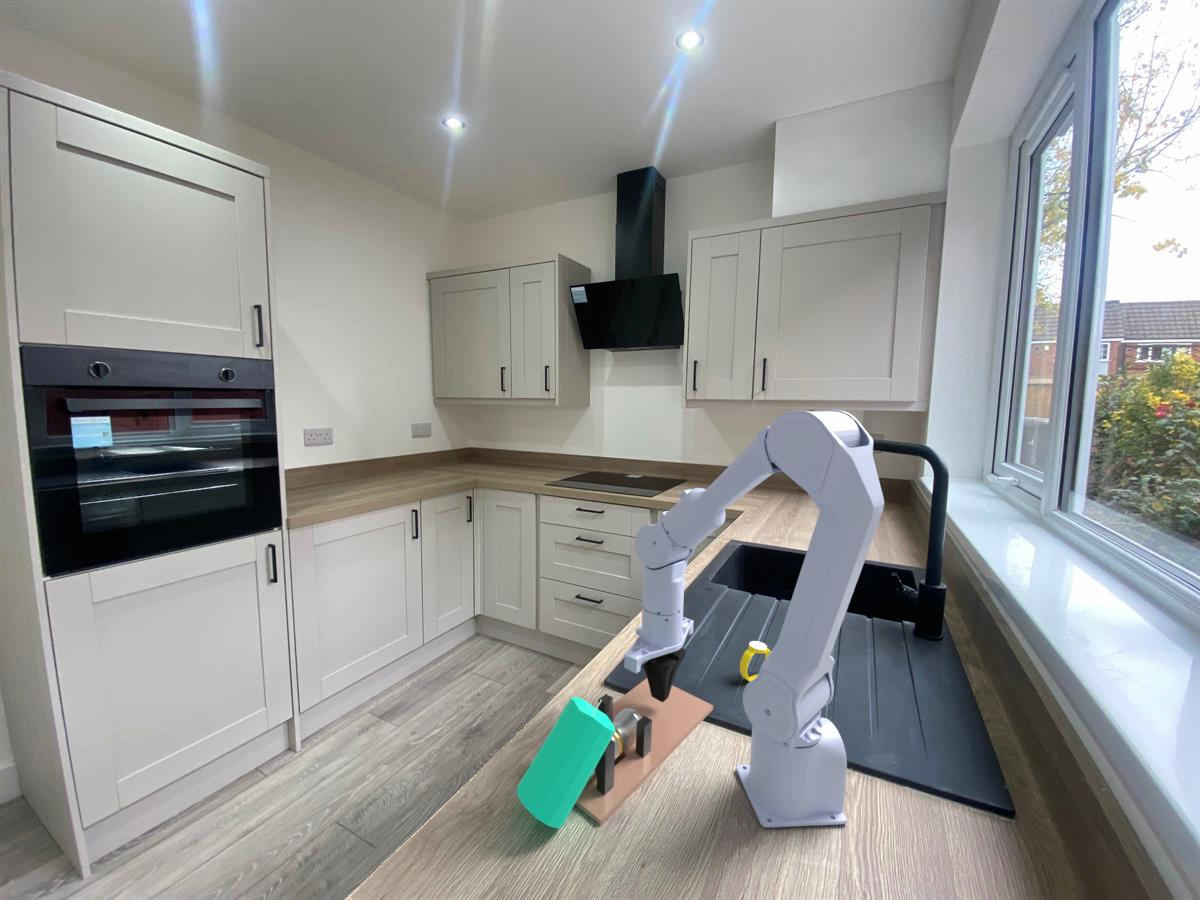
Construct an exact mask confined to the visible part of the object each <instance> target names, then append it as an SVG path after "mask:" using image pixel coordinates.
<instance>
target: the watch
mask: <svg viewBox="0 0 1200 900" xmlns="http://www.w3.org/2000/svg"><path fill="white" fill-rule="evenodd" d="M771 651H772V650H770V649H769V648H768V645H767V644H766V643H764V642H762V641H758V640H751V641H749V643H748V648H747V649H746V650H745V651H744V652H743V654H742V656H741V658H740V663H739V671H740V675H741V676H742V678H743V679H745V680H746V681H748V683H749V682H751V681H752V680H754V679H755V678H756V677H757V676H758V674H759V672H758V673H756V674H753V675H749V674H748V667H749V663H750V661H751V660H752V658H753V656H754V655H756V654H765V659H766V658H767V657H768V655H769V654H770V652H771ZM765 659H764V660H765Z"/></svg>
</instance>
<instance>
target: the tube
mask: <svg viewBox="0 0 1200 900" xmlns="http://www.w3.org/2000/svg"><path fill="white" fill-rule="evenodd" d="M640 719H641V716H640V715H639V713H638V712H637V711H635V710H633V709H624V710H622V711H621V712H619V713H618V714H617V715H616V716H615V717H614V718H613V719H611V720H610V721H611V723H612V724H613V726H614V729H615V734H614V735H613V737H612V739H611V740H613V741H614V742H615V760H614V761H616V760H617V759H618V758H619V757H620V756H622V755H621V754H622V753H623V751H624V750H625V749H626V748H627V747H628V746H629V745H630V744H631V743H632V742H633V741H634V740H635V739H636V729H637V721H639V720H640ZM596 778H597V766H596V767H595V769H594V771H593V773H592V774H591V776H590V778H589V780H588V781H593V780H595V779H596Z"/></svg>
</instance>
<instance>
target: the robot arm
mask: <svg viewBox="0 0 1200 900" xmlns="http://www.w3.org/2000/svg"><path fill="white" fill-rule="evenodd" d="M859 421H860V420H858V419H857V418H856V417H855V416H854V415H852V414H851V413H849V412H847V411H844V410H840V409H828V410H822V411H821V410H820V411H818V410H817V411H816V410H815V411H814V410H813V411H809V410H805V409H804V410H803V409H793V410H790V411H789V410H788V411H786V412H784V413H782V414H780V415H779V416H778V417H776V418H775V420H773V422H772V423H771V424H770V426H766V427H765V428H763V429H761V430H760V431H759V432H757V434H756V435H755V437H754V439H753V440H752V441H751V443H750V444H749V445H748V446H746V448H745V449H744V450H743V451H742V452H741V453H740V454H739V455H738V456H737V457H736V458H735V459H734V460H733V461H732V463H731V464H730V465H728V466H727V468H725V470H723V472H721V474H720V475H718V477H717V478H715V479H714V481H713V482H712V483H711V484H710V485H709V486H707V488H702V487H695V488H693V489H691V488H690V489H686V490H683V491H682V492H681V493H680V494H678V497H679V498H680V500H679V501H678V502H676V503H675V505H673V506H672V508H670V509H669V510H667V511H663V512H661V513H660V514H659V520H657V523H654V524H653V523H649V524H643V525H642V526H641V527H640V529H639V530H638V532H637V533H636V536H635V540H634V546H635V552H636V555H637V557H638V559H639V560H640V562H641V563H642V565H643V566H642V567H643V568H642V597H641V598H642V599H641V601H642V602H641V603H642V604H641V605H642V607H641V609H642V610H641V625H640V626H638V627H636V628H635V634H636V635H637V636H638V637H637V638H636V640H635V642H634V643H633V645H632V646H631V648H630V649H629V650H628V651H627V652H626V653H625V654H624V661H623V662H624V664H623V665H624V667H623V668H624V669H626V670H628V671H629V672H632V673H634V674H638V673H639V672H641V666H642V668H643V670H644V672H645V675H646V678H647V679H648V683H649V687H650V692H651V696H652V697H653V698H655V699H657V700H659V701H661V702H664V701H665V700H666V699H667V698H668V697H669V694H670V690H671V687H672V685H673V683H674V680H675V677H676V673H677V671H678V669H679V667H680V666H681V663H682V661H683V660H684V659H685V657H686V649H685V648H683V646H684V644H685V641H686V639H687V636H688V635H693V633H694V626H695V625H694V622H695V621H694V620H693V619H690V618H687V617H685V616H684V600H685V599H684V597H685V596H684V595H685V576H686V574H685V573H686V570H688V560H689V559H690V558H691V557H692V556H693V554H694V553H695V549H696V547H697V546H698V545H699V544H700V543H701V542H703V541H704V540H705V539H707V538H708V537H709V536H710V535H711V534H712V533H714V532H715V531H716V530H718V528H720V527H721V526H722V525H724V524H725V521H726V517H727V516H726V510H727V508H729V507H730V506H732V505H733V504H734V503H735V502H737V501H738V500H739V499H741V498H742V497H743V496H745V495H746V494H748V492H750V491H752V490H753V489H754V488H756V487H757V486H758V485H760V484H761V483H762V482H764V481H765V480H767V479H768V478H769V477H770V476H772V475H773V474H776V473H782V472H783V473H784V474H785V475H786V476H787V477H789V478H790V479H791V480H792V481H793V482H795V483H796V484H797V485H798V486H799V487H801V489H802V490H803V491H805V492H807V494H808V496H809V498H811V500H812V502H813V503H814V504H815V506H816V507H817V509H818V512H819V513H818V517H817V519H816V523H815V525H814V529H813V531H812V535H811V538H810V541H809V545H808V547H807V550H806V553H805V557H804V558H803V559H804V560H803V563H802V565H801V568H800V571H799V575H798V578H797V580H796V581H797V582H796V585H795V588H794V591H793V593H792V597H791V599H790V603H789V606H788V608H787V612H786V614H785V618H784V620H783V621H784V622H783V625H782V626H781V630H780V633H779V636H778V639H777V641H776V644H775V646H774V647H773V648H772V650H770V651H771V652H770V654H769V655H768V657H767V658H766V659H764V661H763V662H762V664H761V666H760V669H759V671H758V673H759V674H758V673H757V674H758V676H757V677H756V678H755V679H754V680H752V681H751V682H749V681H748V683H747V684H746V685H745V687H744V689H743V691H742V705H743V708H744V711H745V714H746V716H747V719H748V720H749V722H750V723H751V742H750V743H751V744H750V756H749V757H750V759H749V764H738V765H737V766H735V767H736V768H735V769H736V773H737V775H738V778H739V780H740V782H741V783H742V786H743V788H744V791H745V793H746V796H747V797H748V800H749V802H750V804H751V806H752V809H753V810H754V813H755V815H756V817H757V820H758V822H759V823H760V826H762V827H763V828H787V827H788V828H790V827H806V826H807V827H809V826H810V827H811V826H827V825H828V826H833V825H836V826H837V825H846V824H847V823H848V822H847V821H848V818H847V817H846V815H845V813H844V802H845V801H844V800H845V792H846V782H847V780H846V779H847V769H848V766H847V765H848V762H847V761H848V759H847V752H846V748H845V744H844V741H843V739H842V737H841V734H840V733H839V730H838V729H837V727H836V725H835V724H834V723H833V722H832V721H831V720H830V719H828V718H826V717H821V715H822V709H823V708H825V707H827V705H829V703H831V701H832V699H833V697H834V692H835V691H834V690H835V687H834V682H833V669H834V666H835V663H836V661H835V659H834V657H833V656H832V655H831V654H832V653H833V650H834V649H833V648H834V646H835V643H836V641H837V637H838V635H839V633H840V629H841V626H842V624H843V621H844V619H845V616H846V613H847V611H848V608H849V605H850V602H851V599H852V596H853V594H854V592H855V588H856V585H857V583H858V581H859V578H860V575H861V572H862V569H863V567H864V564H865V561H866V559H867V556H868V553H869V550H870V547H871V545H872V542H873V539H874V536H875V534H876V531H877V529H878V525H879V523H880V520H881V519H882V514H883V511H884V506H885V498H884V494H883V490H882V487H881V483H880V478H879V475H878V472H877V467H876V463H875V459H874V455H873V453H874V439H873V437H872V436H871V435H870V433H868V431H867V430H866V429H865V428H864V425H862V424H861V423H860V422H859Z"/></svg>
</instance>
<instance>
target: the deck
mask: <svg viewBox="0 0 1200 900" xmlns="http://www.w3.org/2000/svg"><path fill="white" fill-rule="evenodd" d="M624 709H633V710H635V711H637V712H638V713H639V715H640V716H641V718H642V717H643V716H646V717H647V718H649V719H651V720H652V735H651V751H650V752H649V753H648V754H647V755H646V756H645V757H644V758H643V757H641V756H639V755H638V754H636V739H635V740H634V741H633V742H632V743H631V744H630V745H629V746H628V747H627V748H626V749H625V750H624V751H623V753H622V754H621V755H620V756H622V757H623V758H622V759H621V760H620V761H619V762H618V763H617V764H615V765H614V787H613V788H612V789H611V790H610V791H609V792H608V793H607V794H606V795H605V796H604V795H603V794H602V793H600V792H599V791H598V790H597V778H596V779H595V780H593V781H588V782H587V783H586V785H585V787H584V789H583V790H582V792H581V794H580V796H579V798H578V799H577V801H576V803H575V805H574V806H577V808H579V809H580V810H581V811H582V812H583V813H585V814H586V815H587V816H588V817H589V818H591V819H592V820H593V821H595V822H596V823H597V824H598V825H599V826H602V825H603V824H604V823H605V822H606V821H607V820H608V819H609V818H610V817H611V816H612V815H613V814H614V813H615V812H616V811H617V810H618V808H620V806H621V805H622V804H624V802H625V801H626V800H627V799H628V798H629V797H630V796H631V795H632V794H633V793H634V792H635V791H636V790H637V789H638V788H639V786H641V785H642V784H643V783H644V782H645V780H646V779H648V778H649V777H650V775H652V773H653V772H654V771H655V770H656V769H657V768H659V766H660V765H662V763H663V762H664V761H665V760H666V759H667V758H668V757H669V756H670V754H672V752H674V750H676V748H678V747H679V746H680V744H681V743H683V741H684V740H685V739H686V738H687V737H688V736H689V735H690V734H691V733H692V732H693V731H694V730H695V729H696V728H697V726H699V725H700V724H701V722H703V721H704V720H705V719H706V717H707V716H708V715H709V714H710V713H711V712H713V710H714V705H713V704H711V703H710V702H707V701H705V700H703V699H701V698H699V697H697V696H695V695H693V694H691V693H689V692H686V691H685V690H682V689H680V688H679V687H677V686H674V685H673V684H672V687H671V690H670V694H669V697H668V698H667V699H666V700H665V701H664V702H661V701H659V700H657V699H655V698H653V697H652V696H651V692H650V687H649V683H648V679H647V677H646V678H645V679H644V680H642V681H641V682H640V683H639V684H637V685H636V686H635V687H633V688H632V689H631V690H629V691H628V692H627V693H626V694H624V695H623V696H622V697H620V698H619V699H617V700H616V701H615V702H613V708H612V719H613V718H614V717H615V716H616V715H617V714H618V713H619V712H621V711H622V710H624Z"/></svg>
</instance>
